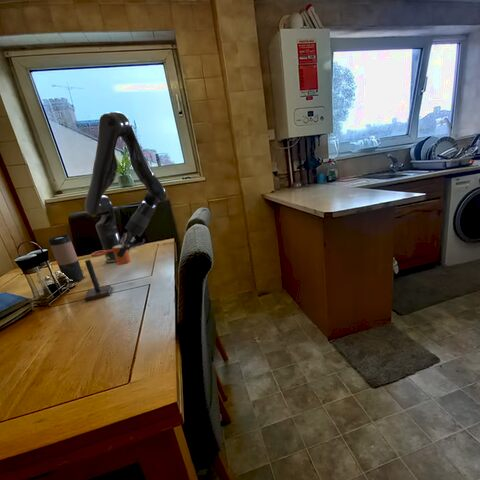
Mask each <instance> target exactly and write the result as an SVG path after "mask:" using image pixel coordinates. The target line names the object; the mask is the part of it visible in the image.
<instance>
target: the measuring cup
mask: <svg viewBox="0 0 480 480" xmlns="http://www.w3.org/2000/svg"><path fill="white" fill-rule="evenodd" d="M122 245H123V244H121V245H117V246H114V247H112V248H113V249H111V250H107V251H106V250H103V249H102V250H97V251H94V252H92V253H90V256H91V257H92V258H97V257H101V256H105V254H107V253H108V252H112V251H113V252H114V255H115V258H116V261H117V262H116V264H117V265H118V266H122V265H123V266H124V265H128V264H130V263H132V260H131V256H130V252H129V250H127V251H126V252H125V253H124V255H123V256H122V257H119V256H117V254H118V252H119V251H120V249H121V248H122Z"/></svg>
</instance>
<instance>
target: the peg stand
mask: <svg viewBox="0 0 480 480" xmlns="http://www.w3.org/2000/svg"><path fill="white" fill-rule="evenodd" d="M84 263H85V266H86V268H87V272H88V275H89V277H90V280H91V282H92V286H93V288H90V289H88V290H87V292H86V294H85V297H84V299H85V302H89V301H94V300H97V299H101V298H105V297H109V296H111V292H112V289H113V288H112V285H111V284H107V285H103V286H100V284H99V283H100V282H99V281H98V277H97V275H96V272H95V268H94V266H93V263H92V261H91V259H86V260H84Z"/></svg>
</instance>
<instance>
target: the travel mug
mask: <svg viewBox="0 0 480 480" xmlns="http://www.w3.org/2000/svg"><path fill="white" fill-rule="evenodd" d="M48 243H49V245H50V247H51V251H52V254H53V256H54V258H55V261H56V264H57V266H58V268H59V270H60V273H61V272H62V273H64V274H65V275H66V276H67V277H68V278H69V279H73V281H70V282H69V283H68V284H73V283H76V282H80V281H82V280H83V279H84V278H85V277H84V273H83V271H82V267H81V264H80V261H79V259H78V255H77V253H76V251H75V248H74V245H73V243H72V240H71V238H70V235H69V234H63V235H58V236H57V235H56V236H53V237H50V238H49V239H48ZM62 273H61V274H62Z"/></svg>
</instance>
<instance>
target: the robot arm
mask: <svg viewBox="0 0 480 480" xmlns="http://www.w3.org/2000/svg"><path fill="white" fill-rule="evenodd" d="M98 120H99V121H98V127H97V128H98V130H97V132H98V133H97V145H96V152H95V157H94V161H93V167H92V174H91V180H90V183H89V187H88V191H87V194H86V197H85V201H84V209H85V212H86V214H87V215H88V216H89V217H93V218H97V217H100V216H101V218H100V220H99V221H98V222H96V224H95V229H96V232H97V235H98V238H99V242H100V244H101V248H102V250H106V251H107V250H111V249H113V248H112V247H114V246H117V245H121V244H123V245H122V248H121V249H120V251H119V252H118V254H117V256H119V257H122V256H123V255H124V253H125V252H126V251H127V250H128V251H130V249H131V248H134V247H138V246H141V245H143V244H145V242H146V239H145V238H142V242H140V243H136V244H135V242H136V241H137V239H136V236H138V237H141V236H142V234H143V233H144V232H145V230H146V228H147V227H148V225H149V224H150V221H151V219H152V218H153V216H154V215H155V213H156V209H157V207H158V206H159V204H160V203H162V202H164V201H165V200H166V198H167V191H166V189H165V187H164V186H163V184H162V182H161V181H160V180H159V179H158V178H157V176H156V174H155V172H154V171H153V169H152V168H151V166H150V163H149V162H148V160H147V159H146V157H145V155H144V152H143V150H142V149H141V146H140V143H139V141H138V138H137V136H136V133H135V131H134V129H133V125H132V124H131V121H130V120H129V118H128V116H127V115H125V113H122V112H121V111H110V112H104V113H103V114H101V116H100V118H99V119H98ZM119 138H120V139H121V140H122V141H123V143H124V145H125V147H126V150H127V153H128V157H129V162H130V166H131V168H132V170H133V171H134V174H135V175H136V176H137V179H138V180H139V182H141V184H143V185H144V186H145V188H146V190H147V192H146V194H144V195H145V196H144V198H143V199H142V202H141V203H140V204H139V206H138V207H137V209H136V211H135V212H134V213H133V214H132V215H131V216H130V218H129V220H128V222H127V223H126V225H125V226H124V229H125V230H127V231H124V232H123V233H122V235H121V237H120V233H119V230H118V226H117V218H116V214H115V210H114V207H113V203H112V200H111V199H110V198H109V197H108V196H107V195H104V194H105V192H106V191H108V189H109V188H110V186H111V185H112V184H113V183H114V181H115V180H116V176H117V172H118V168H119V167H118V164H119V163H118V159H117V157H116V146H117V142H118V140H119ZM104 257H105V261H106V263H117V261H116V258H115V255H114V252H113V251H112V252H108V253H107V254H105V255H104Z"/></svg>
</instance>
